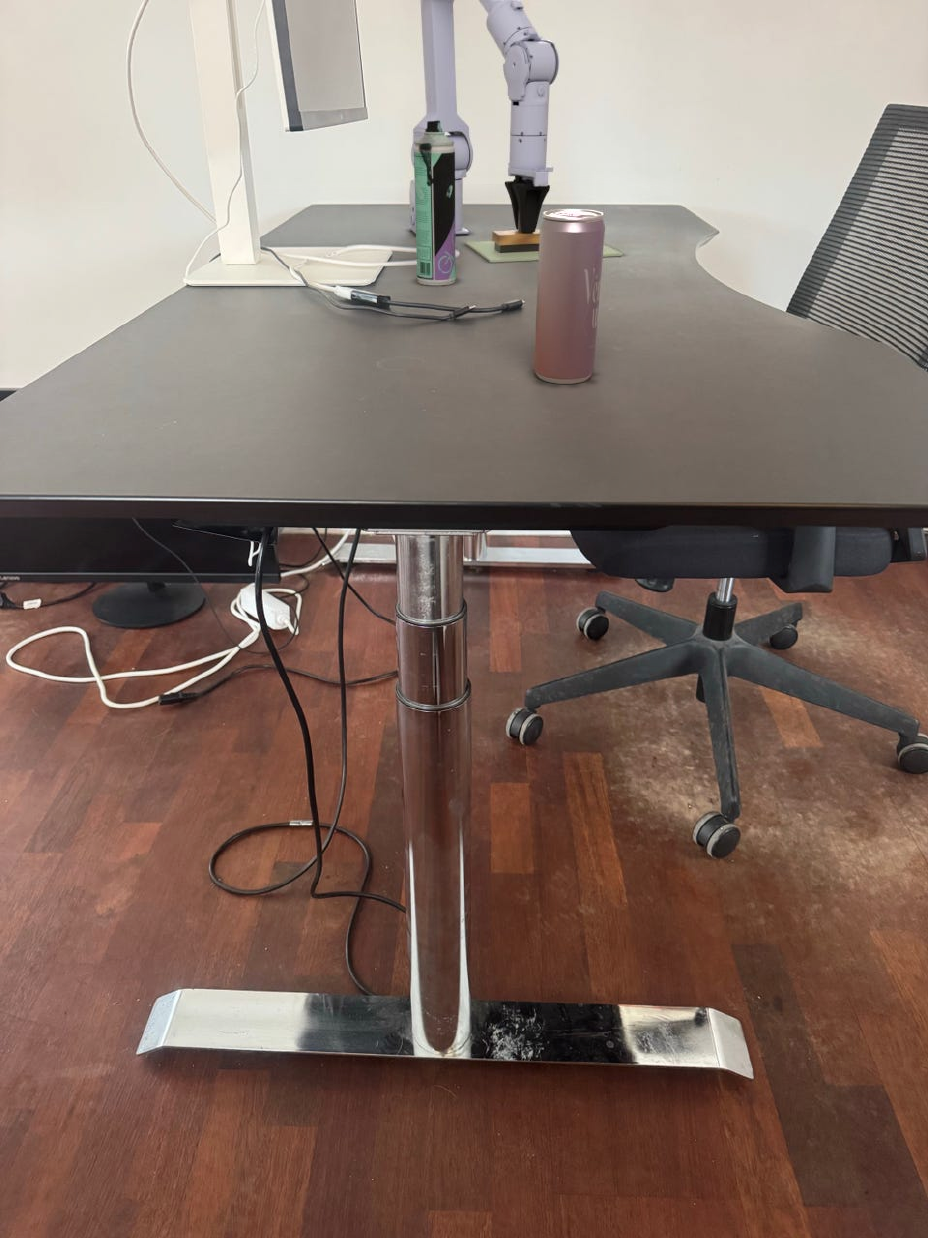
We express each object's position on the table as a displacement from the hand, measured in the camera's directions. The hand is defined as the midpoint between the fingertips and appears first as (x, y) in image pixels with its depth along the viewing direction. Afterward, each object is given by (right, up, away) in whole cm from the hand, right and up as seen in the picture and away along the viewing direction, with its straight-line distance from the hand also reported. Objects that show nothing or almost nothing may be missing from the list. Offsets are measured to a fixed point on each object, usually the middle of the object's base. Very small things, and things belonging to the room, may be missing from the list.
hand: (525, 230), depth 141 cm
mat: (+3, -2, +4) cm, 5 cm away
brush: (0, -2, +2) cm, 3 cm away
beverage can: (0, -39, -53) cm, 66 cm away
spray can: (-14, -15, -16) cm, 26 cm away
